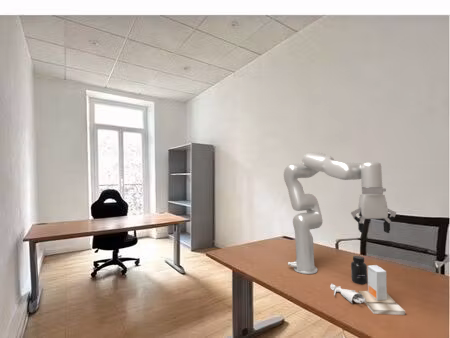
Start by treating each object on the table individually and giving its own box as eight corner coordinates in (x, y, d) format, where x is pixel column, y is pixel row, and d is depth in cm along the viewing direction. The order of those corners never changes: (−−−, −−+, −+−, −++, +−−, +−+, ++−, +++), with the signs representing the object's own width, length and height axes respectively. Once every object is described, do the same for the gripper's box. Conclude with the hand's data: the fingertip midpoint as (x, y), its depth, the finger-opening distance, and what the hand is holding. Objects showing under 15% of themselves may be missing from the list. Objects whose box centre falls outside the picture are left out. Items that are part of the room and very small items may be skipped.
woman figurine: (350, 298, 95) (320, 282, 112) (351, 310, 95) (321, 293, 112) (373, 293, 99) (340, 279, 116) (375, 305, 98) (341, 288, 115)
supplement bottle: (361, 286, 114) (360, 260, 115) (348, 280, 120) (347, 256, 121) (370, 282, 117) (369, 257, 118) (357, 277, 124) (356, 254, 124)
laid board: (373, 313, 92) (373, 309, 92) (367, 306, 97) (367, 302, 97) (405, 315, 90) (405, 310, 90) (397, 307, 95) (397, 303, 95)
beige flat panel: (366, 305, 98) (366, 301, 98) (358, 294, 105) (358, 290, 105) (396, 306, 96) (396, 302, 96) (385, 295, 104) (385, 291, 104)
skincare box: (367, 292, 104) (367, 265, 103) (377, 292, 104) (376, 264, 103) (377, 301, 98) (376, 271, 97) (387, 300, 98) (386, 271, 97)
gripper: (389, 190, 105) (391, 230, 104) (347, 191, 107) (349, 230, 107) (399, 191, 97) (401, 234, 97) (353, 192, 100) (355, 234, 99)
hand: (374, 232), depth 102 cm, fingers open, 9 cm apart
